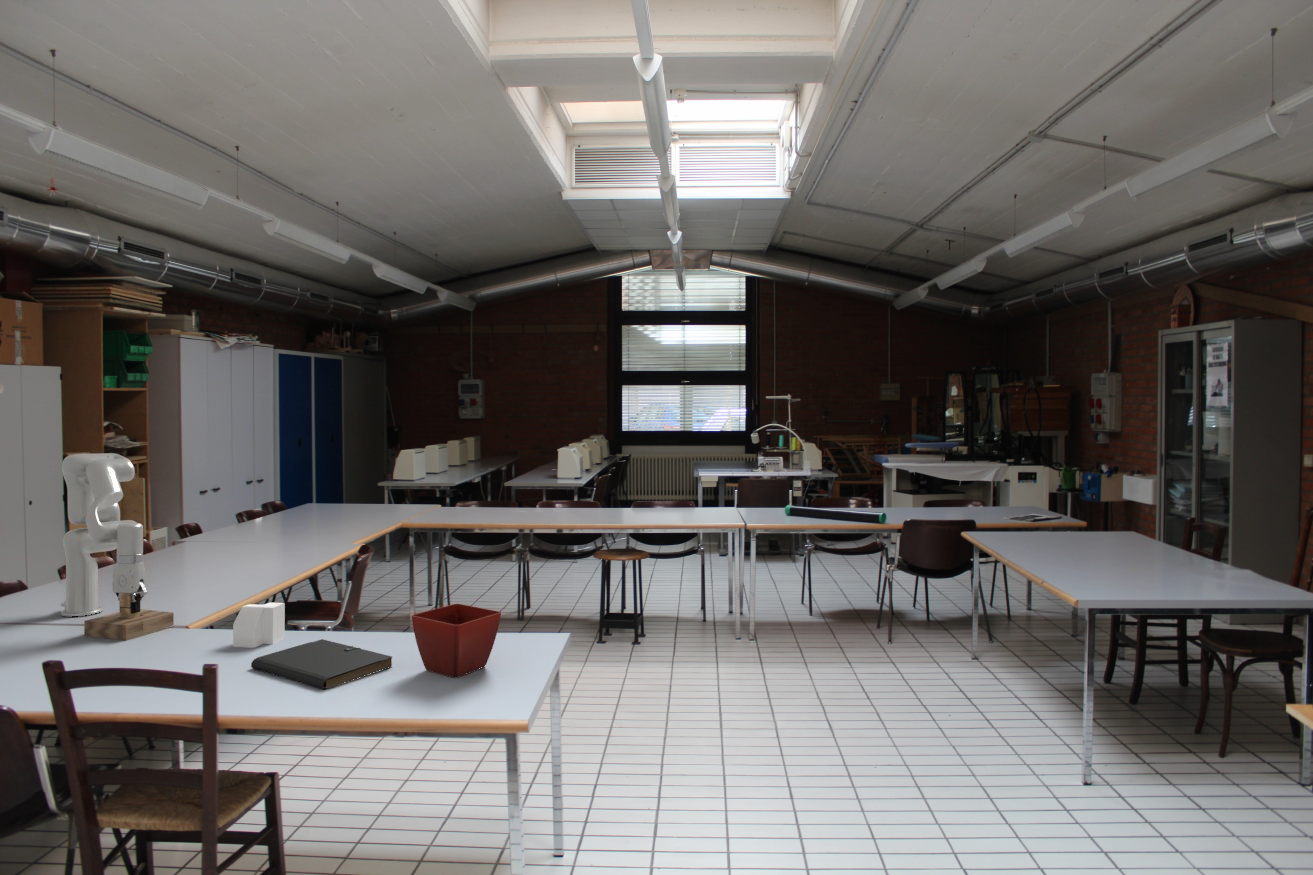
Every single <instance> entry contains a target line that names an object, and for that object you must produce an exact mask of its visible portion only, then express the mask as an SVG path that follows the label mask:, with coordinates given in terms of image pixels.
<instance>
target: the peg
mask: <svg viewBox="0 0 1313 875" xmlns="http://www.w3.org/2000/svg"><path fill="white" fill-rule="evenodd" d="M135 596H137V594H135ZM131 602H132V597H131V594H127V593H120V601H119V612H120V618H122V619H132V618H136V617H139V616H140V612H138V613H134V614H131Z"/></svg>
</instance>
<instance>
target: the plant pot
mask: <svg viewBox="0 0 1313 875" xmlns="http://www.w3.org/2000/svg"><path fill="white" fill-rule="evenodd" d="M501 617H502V611H497V610H493V609H488V608H482V607H477V606H472V605H467V604H462V603H452V604H449V605H445V606H441V607H438V608H437V607H436V608H434V609H430V610H426V611H422V612H419V613H414V614H412V615H411V622H412V628H413V633H414V638H415V642H416V646H417V649H418V652H419V655H420V658H421V661H422V663H423V666H424V668H425V670H426V671H428V672H430V673H431V672H432V673H434V672H435V674H438V673H439V674H438V675H442V674H443V675H444V676H446V675H447V676H446V677H449V676H450V677H449V678H453V677H454V678H453V679H456V678H455V677H457V678H460V677H463V676H465V675H464V674H466V673H468V674H470V673H469V672H471V673H473V672H472V671H474V670H476V671H478V670H477V669H479V668H481V667H484V666H485V665H487V663H488V661H489V658H490V657H491V656H490V655H491V653H492V650H493V648H494V645H495V640H496V637H497V635H498V634H497V633H498V631H499V626H500V622H501ZM485 667H486V666H485ZM485 667H484V668H485ZM479 670H480V669H479ZM474 672H475V671H474ZM462 675H463V676H462ZM466 675H467V674H466ZM459 676H460V677H459Z"/></svg>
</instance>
